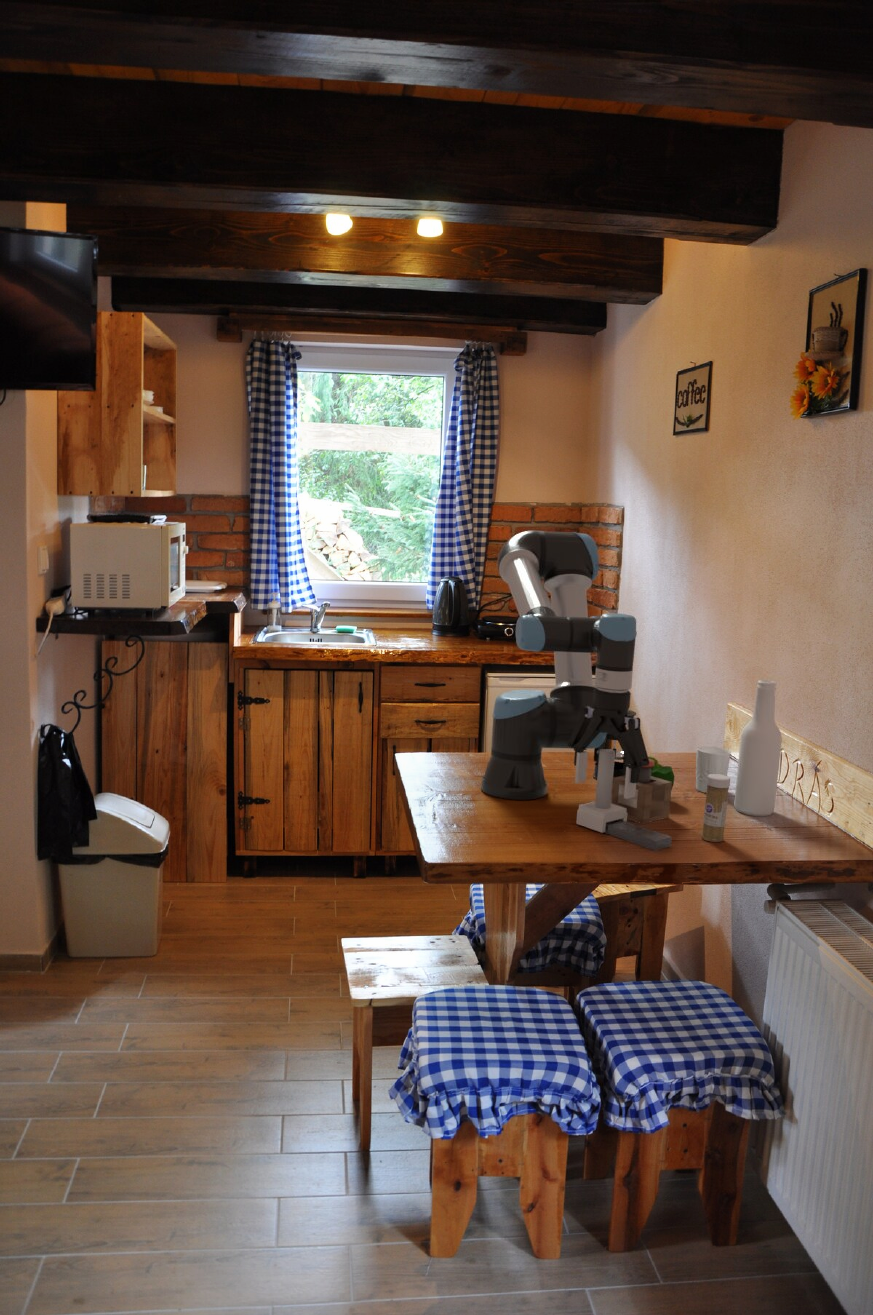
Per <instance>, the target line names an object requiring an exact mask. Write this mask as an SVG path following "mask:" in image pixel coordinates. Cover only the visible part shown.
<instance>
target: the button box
mask: <svg viewBox="0 0 873 1315" xmlns="http://www.w3.org/2000/svg"><path fill="white" fill-rule="evenodd" d="M625 778H626V775H624V776H620V777H615V778H613V784H612V796H611V803H612V804H615V805H618V806H621V807H624V808H627V810H626V812H627V820H629V819H630V820H629V821H632V822H635V821H637V822H636V823H638V822H640V823H639V824H641V823H642V824H641V825H645V824H649V823H651V822H650V821H653V822H656V820H657V821H659V819H661V820H663V819H662V818H664V819H667V818H669V817H670V809H671V796H672V791H671V788H672V782H670V781H667V780H663V779H660V778H657V777H653V776H650V783H646V784H643V783H640V782H638V783H636V792H635V797H632V798H628V799H626V798H624V789H625ZM672 789H673V788H672ZM648 822H649V823H648Z"/></svg>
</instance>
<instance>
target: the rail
mask: <svg viewBox="0 0 873 1315" xmlns="http://www.w3.org/2000/svg"><path fill="white" fill-rule="evenodd" d="M603 833H604V834H607V835H609V834H610V836H612V837H615V838H618V839H621V840H624V841H626V842H629V843H632V844H635V845H639V846H641V847H643V848H646V849H649V850H652V851H655V852H656V851H659V850H663V849H667V848H670V847H671V846H672V838H673V837H672V836H671V835H667V834H665V833H661V832H660V831H659V832H658V831H655V830H653V829H649V828H647V827H644V826H641V825H638V824H635V823H633V822H629V821H627V822H626V821H623V820H620V819H618V820H614V821H610V822H606V828H605V832H603Z"/></svg>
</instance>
